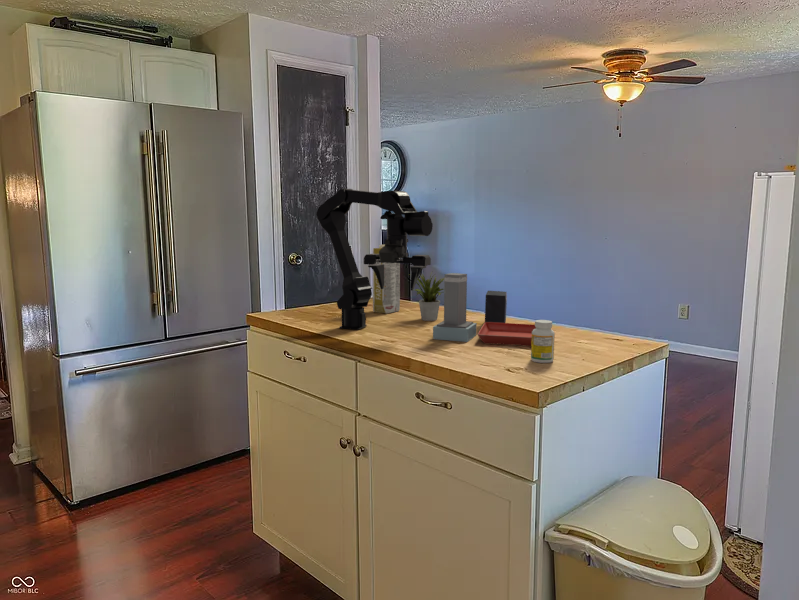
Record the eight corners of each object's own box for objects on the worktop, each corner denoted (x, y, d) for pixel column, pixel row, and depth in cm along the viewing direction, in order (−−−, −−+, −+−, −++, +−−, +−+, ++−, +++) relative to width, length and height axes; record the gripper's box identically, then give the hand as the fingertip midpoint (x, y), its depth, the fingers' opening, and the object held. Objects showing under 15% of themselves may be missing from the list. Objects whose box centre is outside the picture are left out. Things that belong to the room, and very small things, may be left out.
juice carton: (385, 308, 221) (385, 243, 218) (402, 310, 217) (403, 244, 213) (369, 312, 214) (369, 244, 210) (387, 314, 209) (387, 245, 206)
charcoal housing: (443, 323, 170) (444, 274, 168) (452, 321, 174) (452, 272, 172) (458, 325, 168) (458, 275, 166) (466, 322, 172) (467, 273, 170)
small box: (505, 329, 184) (506, 295, 182) (483, 328, 185) (484, 294, 183) (506, 323, 194) (507, 290, 192) (486, 322, 195) (486, 290, 194)
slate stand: (432, 339, 169) (433, 325, 168) (443, 332, 178) (443, 319, 177) (467, 341, 165) (467, 327, 165) (476, 335, 174) (476, 321, 174)
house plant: (397, 321, 196) (397, 271, 194) (412, 314, 209) (412, 267, 206) (438, 324, 191) (439, 273, 188) (452, 317, 203) (452, 269, 201)
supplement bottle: (547, 364, 141) (548, 324, 139) (526, 360, 144) (527, 321, 143) (557, 360, 145) (559, 321, 143) (537, 356, 148) (538, 318, 147)
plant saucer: (545, 349, 158) (546, 337, 157) (476, 345, 162) (477, 333, 162) (546, 336, 175) (546, 324, 175) (484, 332, 180) (484, 321, 179)
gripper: (355, 235, 167) (355, 291, 170) (418, 236, 161) (418, 294, 163) (371, 234, 178) (371, 287, 180) (431, 235, 171) (431, 289, 173)
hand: (397, 289), depth 174 cm, fingers open, 9 cm apart
